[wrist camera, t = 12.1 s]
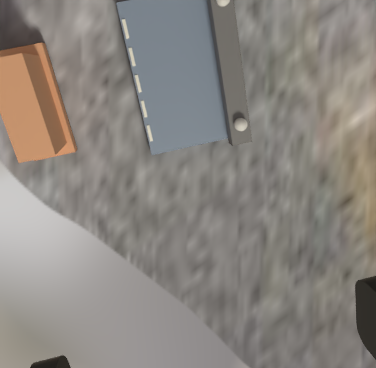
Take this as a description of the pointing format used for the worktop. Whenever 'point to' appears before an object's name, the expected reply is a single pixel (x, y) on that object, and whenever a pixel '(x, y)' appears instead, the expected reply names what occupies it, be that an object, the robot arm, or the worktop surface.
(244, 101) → the panel with knobs
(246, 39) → the worktop surface
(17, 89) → the stub
